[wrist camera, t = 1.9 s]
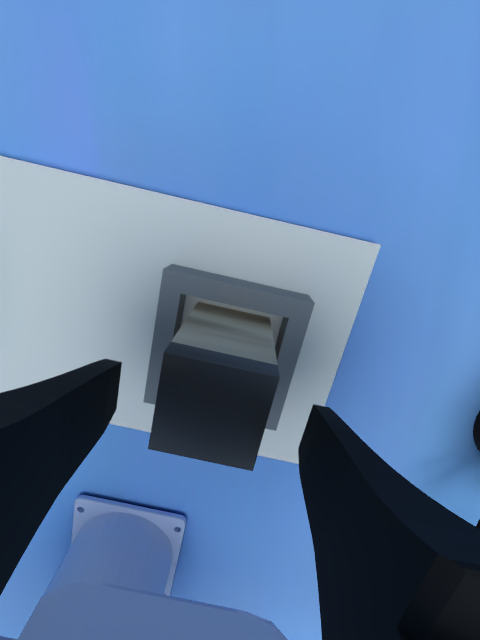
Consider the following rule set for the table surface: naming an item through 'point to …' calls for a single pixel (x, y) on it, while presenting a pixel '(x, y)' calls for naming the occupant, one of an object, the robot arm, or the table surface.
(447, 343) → the table surface
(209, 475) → the table surface
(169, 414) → the plug
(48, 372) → the panel
